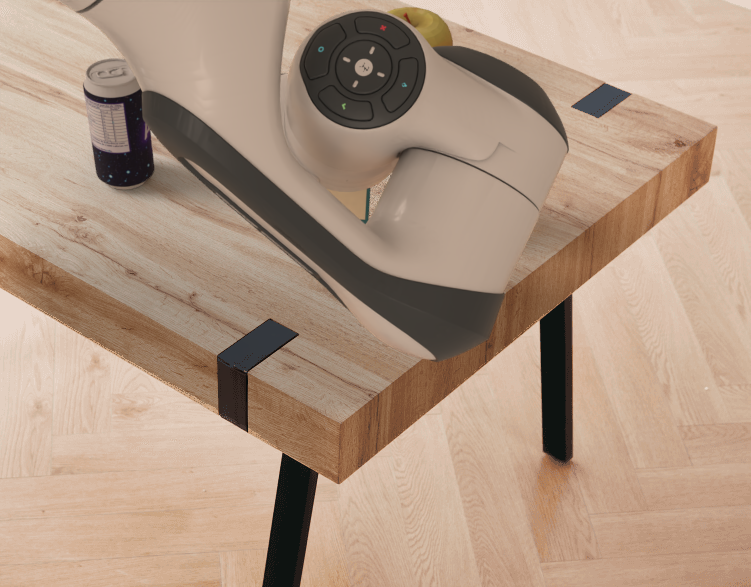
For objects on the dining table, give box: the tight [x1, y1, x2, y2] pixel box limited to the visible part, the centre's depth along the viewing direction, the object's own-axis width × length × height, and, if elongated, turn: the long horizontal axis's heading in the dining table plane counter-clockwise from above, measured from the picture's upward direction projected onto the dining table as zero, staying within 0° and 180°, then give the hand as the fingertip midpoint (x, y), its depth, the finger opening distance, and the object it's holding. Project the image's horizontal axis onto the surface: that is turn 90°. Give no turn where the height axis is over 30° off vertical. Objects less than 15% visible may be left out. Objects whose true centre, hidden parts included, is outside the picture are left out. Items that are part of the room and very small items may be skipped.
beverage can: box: [82, 57, 155, 191], centre depth 103 cm, size 6×6×12 cm
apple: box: [387, 6, 454, 47], centre depth 122 cm, size 10×10×8 cm
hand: (338, 161), depth 90 cm, fingers closed on tissue box, 5 cm apart
